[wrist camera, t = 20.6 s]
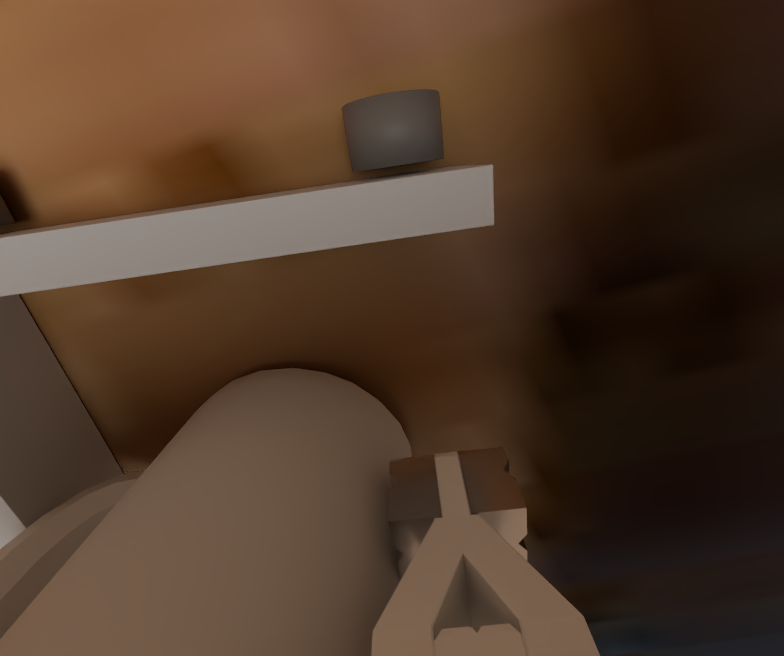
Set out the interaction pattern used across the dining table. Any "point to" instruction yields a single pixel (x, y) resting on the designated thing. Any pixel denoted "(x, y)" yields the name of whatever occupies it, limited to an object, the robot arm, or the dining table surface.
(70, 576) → the cup
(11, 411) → the cart frame
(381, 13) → the dining table surface
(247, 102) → the dining table surface
